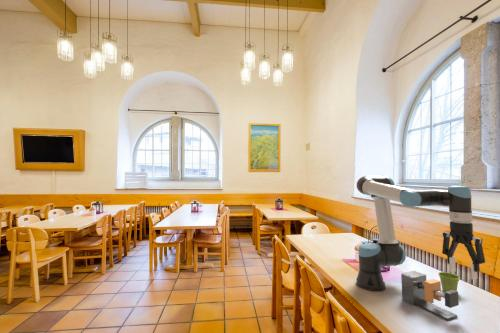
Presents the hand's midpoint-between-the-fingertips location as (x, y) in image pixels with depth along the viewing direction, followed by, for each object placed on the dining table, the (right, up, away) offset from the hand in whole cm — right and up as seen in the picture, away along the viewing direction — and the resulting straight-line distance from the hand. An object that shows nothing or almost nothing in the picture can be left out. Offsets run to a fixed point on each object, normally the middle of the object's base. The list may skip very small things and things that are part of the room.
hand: (463, 275), depth 105 cm
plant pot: (+18, -22, +30) cm, 41 cm away
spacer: (-4, -17, +11) cm, 21 cm away
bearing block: (-5, -22, +13) cm, 26 cm away
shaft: (-4, -16, +10) cm, 19 cm away
